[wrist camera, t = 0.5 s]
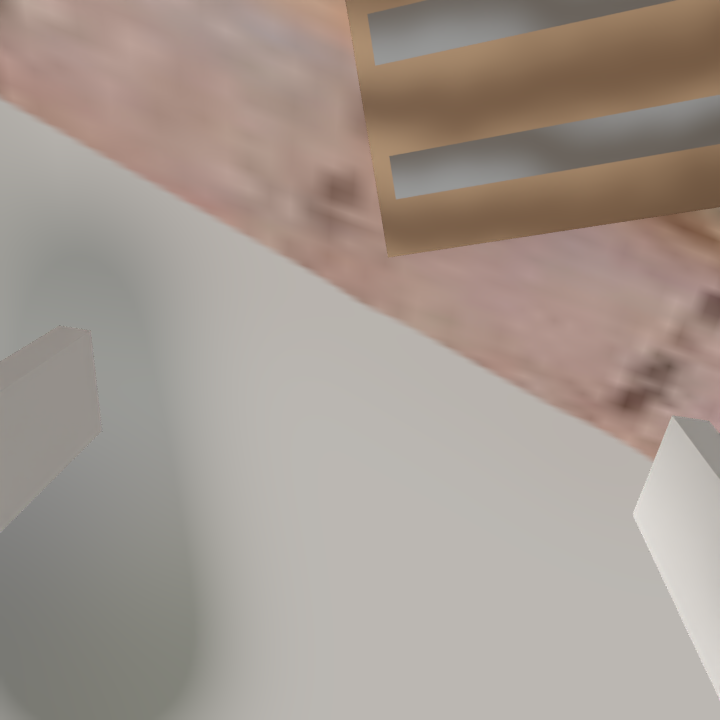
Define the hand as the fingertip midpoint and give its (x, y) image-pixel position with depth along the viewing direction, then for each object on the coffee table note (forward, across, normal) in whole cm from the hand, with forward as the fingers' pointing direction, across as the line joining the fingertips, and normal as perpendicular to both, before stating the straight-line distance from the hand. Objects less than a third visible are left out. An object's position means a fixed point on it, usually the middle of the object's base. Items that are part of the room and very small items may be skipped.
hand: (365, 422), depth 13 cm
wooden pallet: (+26, +6, +8) cm, 28 cm away
